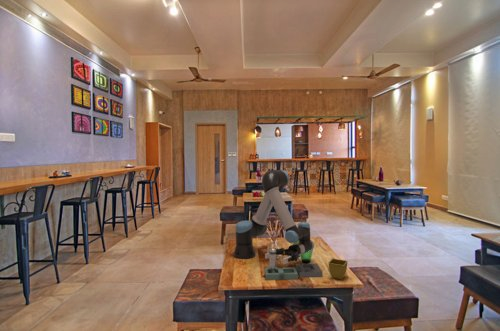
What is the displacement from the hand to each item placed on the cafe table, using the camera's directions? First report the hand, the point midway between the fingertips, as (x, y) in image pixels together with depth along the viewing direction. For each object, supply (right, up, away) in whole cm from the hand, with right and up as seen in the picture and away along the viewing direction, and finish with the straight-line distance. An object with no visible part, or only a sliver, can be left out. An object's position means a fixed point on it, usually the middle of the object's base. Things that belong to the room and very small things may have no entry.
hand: (274, 258), depth 173 cm
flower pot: (+36, -10, -4) cm, 37 cm away
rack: (+4, -10, 0) cm, 11 cm away
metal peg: (-1, -10, 0) cm, 10 cm away
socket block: (+21, -9, +4) cm, 23 cm away
